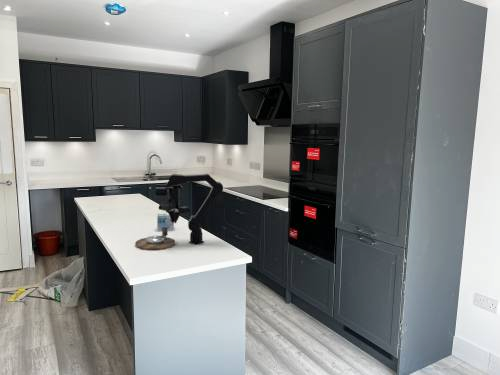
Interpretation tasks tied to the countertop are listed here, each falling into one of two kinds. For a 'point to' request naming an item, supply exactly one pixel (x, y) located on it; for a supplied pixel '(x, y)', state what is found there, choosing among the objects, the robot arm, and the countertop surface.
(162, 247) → the dial base plate
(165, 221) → the light bulb box
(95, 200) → the countertop surface
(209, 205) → the robot arm
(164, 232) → the dial
